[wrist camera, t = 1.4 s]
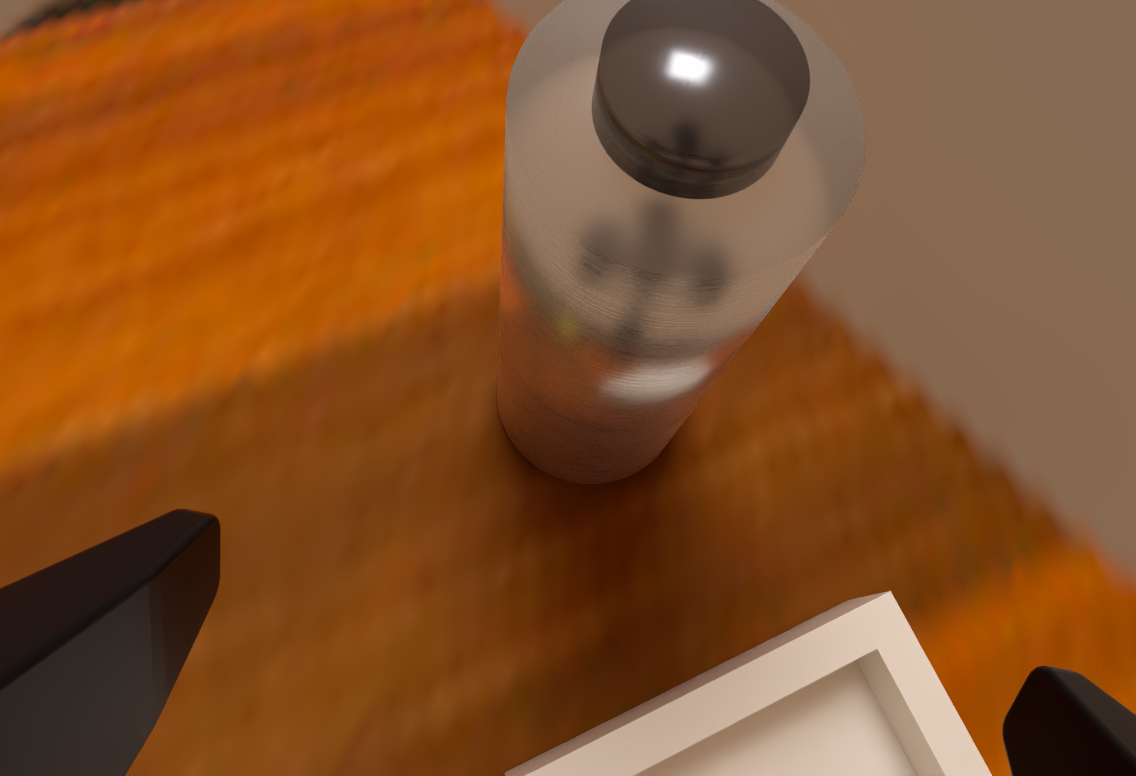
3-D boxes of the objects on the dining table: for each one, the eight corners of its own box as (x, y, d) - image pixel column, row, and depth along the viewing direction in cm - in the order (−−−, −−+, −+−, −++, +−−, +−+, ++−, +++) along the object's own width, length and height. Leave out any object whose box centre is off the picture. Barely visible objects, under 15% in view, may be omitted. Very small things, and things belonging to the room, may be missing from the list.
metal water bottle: (541, 514, 22) (613, 300, 10) (468, 348, 24) (446, -31, 11) (710, 441, 24) (972, 163, 11) (630, 286, 25) (779, -122, 12)
